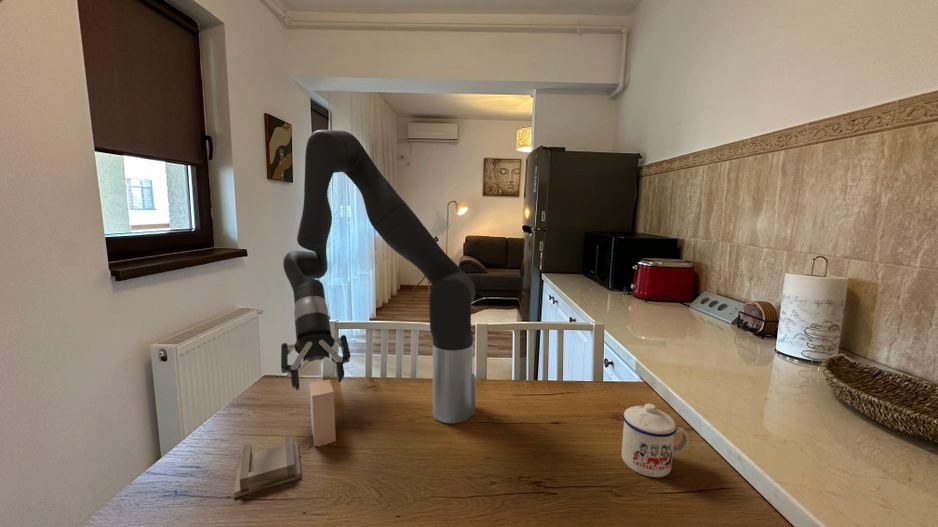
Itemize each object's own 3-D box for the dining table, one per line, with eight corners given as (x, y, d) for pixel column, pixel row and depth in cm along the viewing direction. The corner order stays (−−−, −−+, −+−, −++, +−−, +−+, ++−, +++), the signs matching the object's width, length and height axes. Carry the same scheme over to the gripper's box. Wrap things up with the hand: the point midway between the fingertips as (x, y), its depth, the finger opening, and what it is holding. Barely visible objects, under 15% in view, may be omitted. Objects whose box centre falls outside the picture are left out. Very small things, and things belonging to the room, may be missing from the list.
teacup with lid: (630, 478, 66) (635, 418, 64) (613, 446, 75) (617, 392, 73) (698, 481, 65) (705, 420, 64) (673, 448, 74) (678, 395, 73)
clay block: (331, 426, 80) (329, 379, 79) (335, 441, 75) (333, 391, 74) (311, 431, 79) (309, 383, 77) (314, 447, 73) (312, 396, 72)
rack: (297, 446, 74) (296, 432, 73) (301, 477, 65) (300, 462, 65) (239, 461, 69) (238, 446, 69) (234, 497, 60) (233, 481, 60)
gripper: (278, 315, 82) (282, 385, 73) (344, 308, 88) (355, 371, 80) (279, 331, 87) (282, 398, 79) (341, 323, 94) (351, 384, 85)
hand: (319, 384), depth 79 cm, fingers open, 8 cm apart
